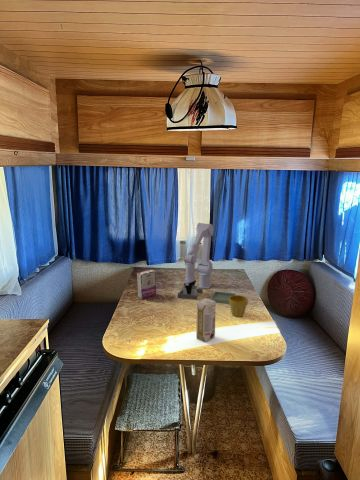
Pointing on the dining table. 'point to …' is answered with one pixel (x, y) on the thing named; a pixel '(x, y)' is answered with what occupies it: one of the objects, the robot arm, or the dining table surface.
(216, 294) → the tray
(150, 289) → the candy bar box
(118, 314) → the dining table surface
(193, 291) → the grey upright block
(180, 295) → the frame
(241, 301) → the plant pot
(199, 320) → the juice carton
